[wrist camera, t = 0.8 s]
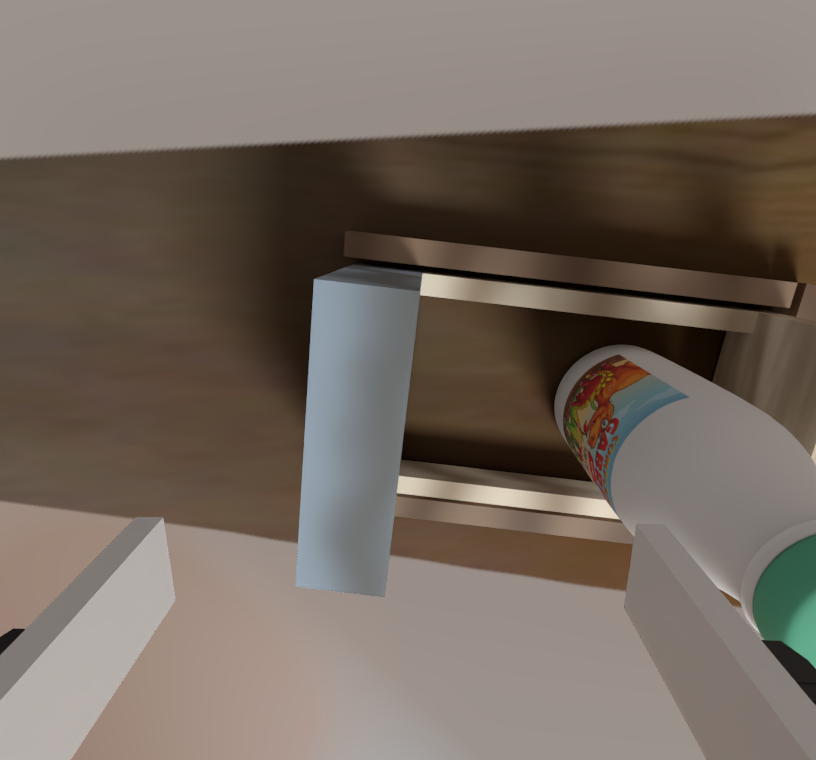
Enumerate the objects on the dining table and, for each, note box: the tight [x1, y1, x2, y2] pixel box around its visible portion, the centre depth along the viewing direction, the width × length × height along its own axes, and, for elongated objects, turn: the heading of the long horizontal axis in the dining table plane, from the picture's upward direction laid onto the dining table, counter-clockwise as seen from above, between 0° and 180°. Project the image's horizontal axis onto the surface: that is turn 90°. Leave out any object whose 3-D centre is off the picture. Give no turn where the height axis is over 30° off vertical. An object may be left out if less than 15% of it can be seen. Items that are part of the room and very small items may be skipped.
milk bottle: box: [554, 345, 816, 668], centre depth 23 cm, size 8×8×20 cm
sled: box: [296, 263, 816, 597], centre depth 27 cm, size 24×14×12 cm, turn 84°
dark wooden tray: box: [343, 231, 816, 544], centre depth 32 cm, size 27×17×2 cm, turn 84°
